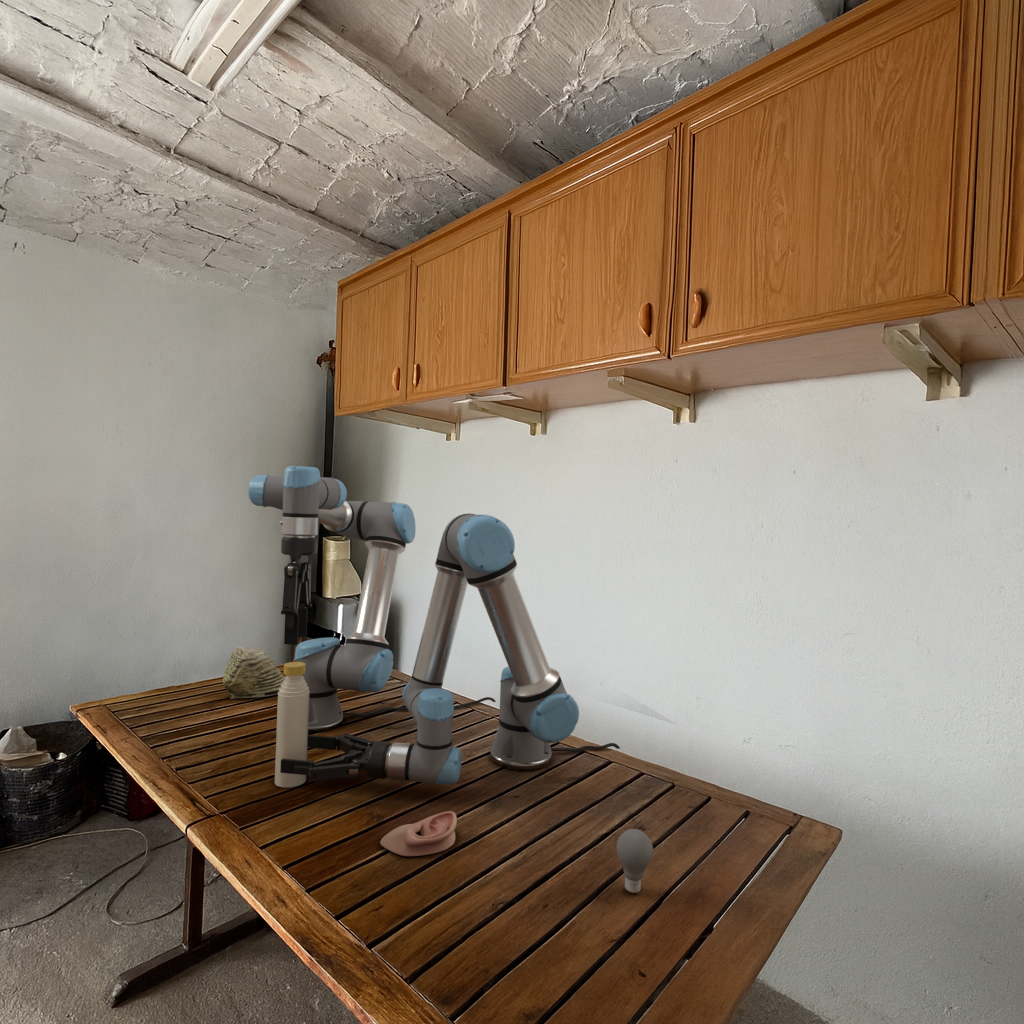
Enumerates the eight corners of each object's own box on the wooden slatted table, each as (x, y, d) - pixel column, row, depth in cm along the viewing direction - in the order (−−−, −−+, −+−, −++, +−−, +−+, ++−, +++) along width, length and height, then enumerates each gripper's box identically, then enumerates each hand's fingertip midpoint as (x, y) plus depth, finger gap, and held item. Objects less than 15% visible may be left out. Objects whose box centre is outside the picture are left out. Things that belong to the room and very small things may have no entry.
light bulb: (610, 879, 108) (613, 822, 108) (644, 879, 109) (647, 822, 109) (619, 902, 102) (622, 840, 102) (655, 901, 103) (658, 840, 103)
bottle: (302, 787, 138) (307, 670, 137) (270, 787, 137) (275, 670, 136) (308, 774, 144) (313, 662, 144) (278, 774, 143) (282, 662, 143)
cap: (302, 675, 138) (303, 667, 138) (281, 675, 138) (281, 667, 138) (307, 670, 143) (307, 661, 143) (286, 670, 142) (286, 661, 142)
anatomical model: (373, 829, 114) (398, 800, 125) (372, 851, 114) (397, 820, 125) (444, 840, 111) (462, 809, 122) (443, 863, 111) (461, 830, 122)
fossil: (218, 695, 195) (220, 647, 195) (278, 685, 208) (279, 640, 207) (228, 703, 189) (230, 653, 188) (289, 692, 201) (290, 645, 201)
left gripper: (294, 533, 149) (290, 630, 150) (268, 538, 129) (264, 650, 130) (326, 534, 150) (323, 631, 150) (305, 540, 130) (301, 651, 130)
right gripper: (370, 805, 125) (267, 795, 127) (404, 755, 150) (317, 747, 152) (372, 767, 125) (269, 758, 127) (405, 723, 150) (318, 716, 152)
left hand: (295, 640), depth 140 cm, fingers open, 7 cm apart
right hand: (295, 752), depth 139 cm, fingers open, 13 cm apart
